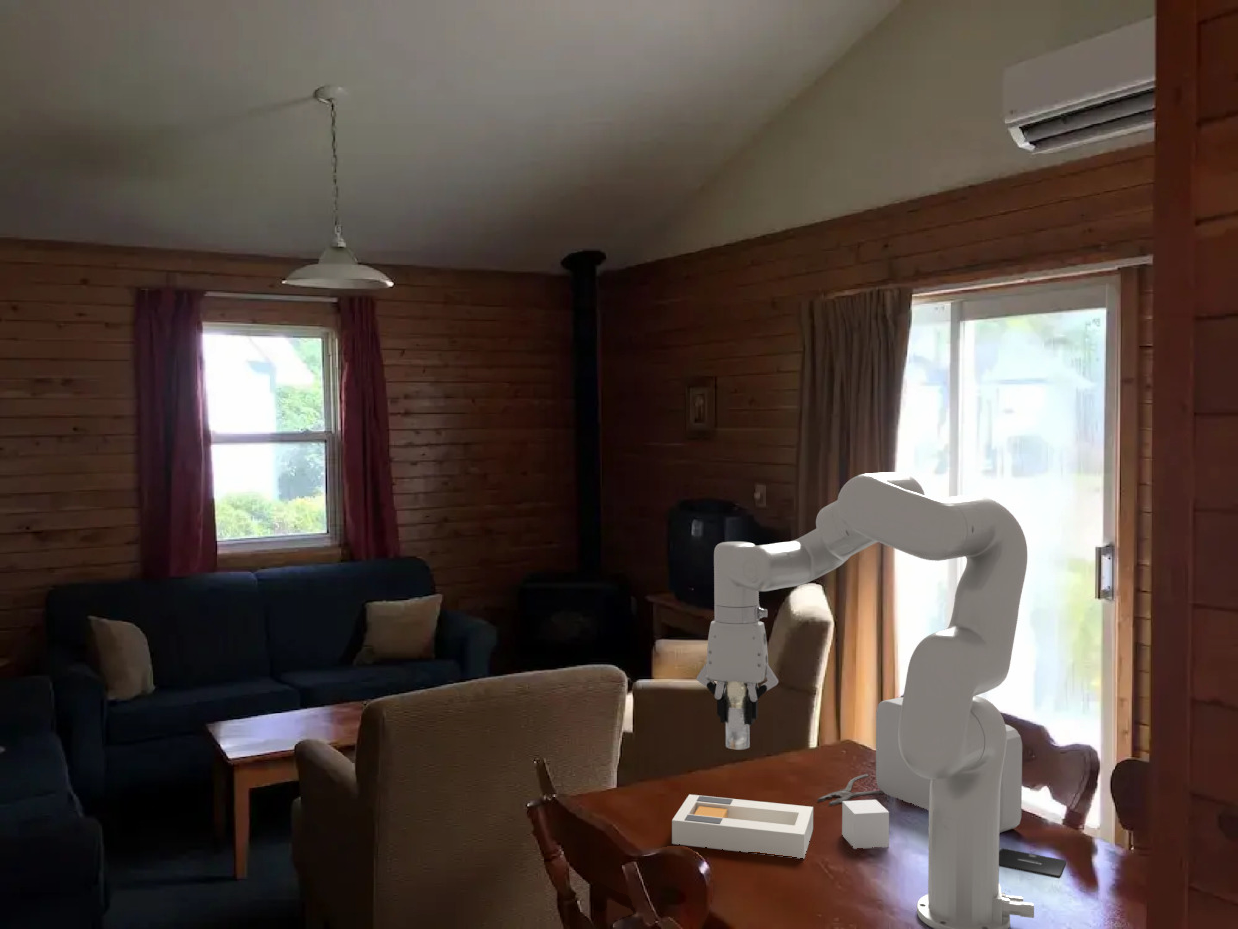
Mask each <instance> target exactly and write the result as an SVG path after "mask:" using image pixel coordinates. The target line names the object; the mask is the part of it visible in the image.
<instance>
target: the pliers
mask: <svg viewBox="0 0 1238 929" xmlns="http://www.w3.org/2000/svg"><path fill="white" fill-rule="evenodd" d="M867 777H869V774H867V773H865V774H861V775H858V776H856V777H854V778H852V779H850V780H849V781H848V783H847V785H846V787H844V788H843V789H839V790H837V791H833V792H830V793H827V794H826V795H823V796H821V797H819V798H817V802H824V801H827V800H832V799H833V798H835V800H834V799H833V800H832V801H830V802H828V806H831V805H832V806H836V805H840V804H839V803H841V804H842V801H851V800H852V799H854V798H857V797H862V796H870V795H871V796H873V794H874V795H882V794H881V793H884V792H883V791H881V790H872V791H860V792H852V788H853V786H854V783H855V782H857V781H858V780H860V779H861V780H862V779H864V778H867ZM857 779H858V780H857ZM836 797H838V798H836ZM839 797H840V798H839ZM853 797H854V798H853ZM851 798H852V799H851ZM835 804H836V805H835ZM832 806H831V807H832Z"/></svg>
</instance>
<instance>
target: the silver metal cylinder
mask: <svg viewBox="0 0 1238 929" xmlns="http://www.w3.org/2000/svg"><path fill="white" fill-rule="evenodd" d="M749 697H750V695H749V690H748V685H747V683H741V682H737V681H731V682H725V698H726V722H725V747H726V748H728V749H731V750H737V751H738V750H739V751H740V750H746V749H749V748H750V725H748V724H747V702H748V701H749Z"/></svg>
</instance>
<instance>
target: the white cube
mask: <svg viewBox="0 0 1238 929" xmlns="http://www.w3.org/2000/svg"><path fill="white" fill-rule="evenodd" d="M841 807H842V808H841V809H842V813H841V815H842V816H841V819H842V820H841V821H842V822H841V831H842V832H841V836H842V835H843V836H842V837H843V838H844V839H845V840H846V841H847V842H848V844H849V845H850V846H851V847H852V846H853V847H852V848H853V849H854V850H856V849H857V848H863V849H875V848H874V847H882V848H889V847H890V812H889V810H888V809H887V808H885V807H884V805H882V804H881V803H880V802H879V801H878V800H877V799H861V800H848V801H842V803H841ZM886 846H887V847H886ZM888 846H889V847H888ZM872 847H873V848H872ZM857 850H858V849H857Z"/></svg>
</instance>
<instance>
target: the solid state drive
mask: <svg viewBox="0 0 1238 929" xmlns="http://www.w3.org/2000/svg"><path fill="white" fill-rule="evenodd" d="M1066 863H1067V861H1066V860H1065V859H1059V858H1055V857H1049V856H1044V855H1039V854H1034V853H1030V852H1023V851H1018V850H1013V849H1008V848H1003V847H1002V848H1000V849H999V867H1003V868H1008V869H1012V870H1016V871H1017V870H1018V871H1023V872H1027V873H1033V874H1038V875H1041V876H1042V875H1043V876H1048V877H1052V878H1058V879H1059V878H1061V876H1062V874H1063V871H1064V869H1065V866H1066Z"/></svg>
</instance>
